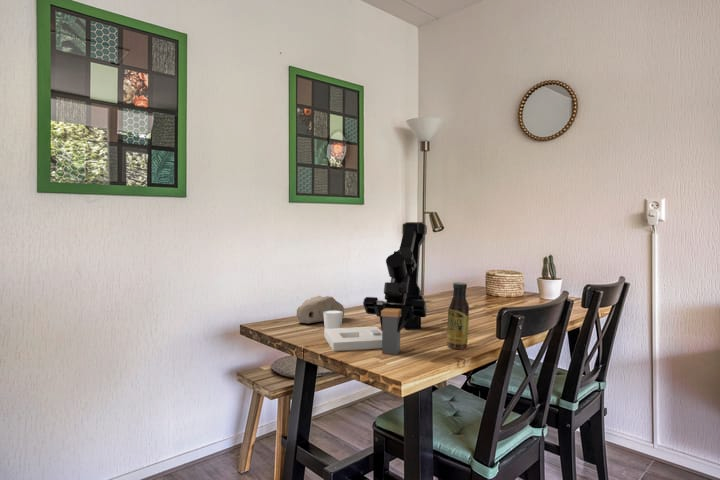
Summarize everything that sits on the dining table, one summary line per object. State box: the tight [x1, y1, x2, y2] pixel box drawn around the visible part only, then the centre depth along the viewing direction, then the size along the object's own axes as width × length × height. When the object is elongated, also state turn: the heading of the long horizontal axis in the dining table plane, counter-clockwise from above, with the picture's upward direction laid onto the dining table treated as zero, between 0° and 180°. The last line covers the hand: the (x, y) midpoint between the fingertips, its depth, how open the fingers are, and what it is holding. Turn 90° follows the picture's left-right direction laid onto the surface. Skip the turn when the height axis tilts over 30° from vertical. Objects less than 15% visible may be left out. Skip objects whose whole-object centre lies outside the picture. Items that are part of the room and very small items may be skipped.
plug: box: [381, 308, 402, 356], centre depth 133 cm, size 5×5×12 cm
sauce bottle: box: [446, 281, 470, 350], centre depth 138 cm, size 7×6×20 cm
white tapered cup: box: [323, 310, 343, 329], centre depth 158 cm, size 7×7×7 cm
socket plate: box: [323, 326, 382, 352], centre depth 144 cm, size 18×18×3 cm
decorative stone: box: [296, 295, 345, 324], centre depth 174 cm, size 20×8×10 cm, turn 128°
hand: (390, 330), depth 131 cm, fingers closed on plug, 4 cm apart
